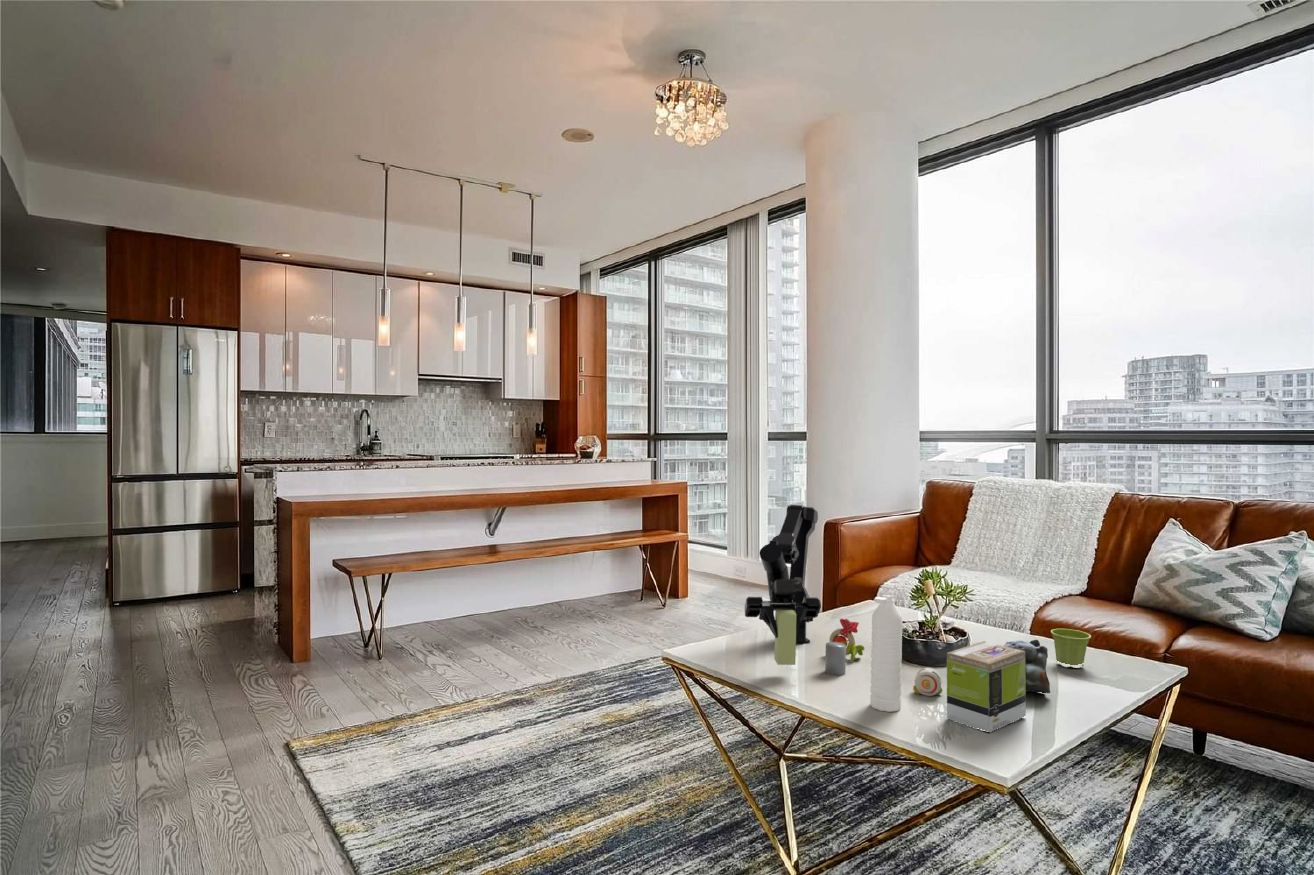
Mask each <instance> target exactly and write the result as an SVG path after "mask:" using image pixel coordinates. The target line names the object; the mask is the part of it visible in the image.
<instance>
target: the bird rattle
mask: <svg viewBox="0 0 1314 875" xmlns="http://www.w3.org/2000/svg"><path fill="white" fill-rule="evenodd" d="M839 623H840V625H841V627H842V628H836V629H835V630H834V631H833V632H831V634H830V636H829V642H838V643H842V644H845V645H846V656H849V655H850V660H851V662H853V661H854V660H855V659H856V656H857V654H858V655H859V656H863V655H864V653H863V651H864V650H865V647H864V645H862V644H858V645H856V641H855V636H854V635H853V633H854V634H855V633H856V634H857V633H858V631H859V630H858V629H857V628H858V627H859V623H860V622H857V621H850V620H849V619H848V618H840V619H839ZM829 642H828V643H829Z"/></svg>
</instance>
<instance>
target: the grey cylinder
mask: <svg viewBox="0 0 1314 875" xmlns="http://www.w3.org/2000/svg"><path fill="white" fill-rule="evenodd" d="M846 648H847V647H846V645H845V644H842V643H838V642H826V643H825V657H824V658H825V659H824V661H825V662H824V663H825V664H824V665H825V668H824V669H825V671H824V672H825V673H826V674H827V675H831V676H838V677H839V676H845V675H846V665H847V664H846V660H847V659H846V657H847V655H846Z"/></svg>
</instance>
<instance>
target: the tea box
mask: <svg viewBox="0 0 1314 875" xmlns="http://www.w3.org/2000/svg"><path fill="white" fill-rule="evenodd" d="M1026 693H1027V691H1026V676H1025V651H1022V650H1018V649H1013V648H1009V647H1005V646H1004V645H1001V644H1000V645H999V644H995V643H991V642H987V641H981V642H977V643H974V644H971V645H968V646H964V647H961V648H958V649H955V650H952V651H949V652H946V719H947V720H948V719H950V720H949V721H951V720H953V721H952V722H954V721H957V722H960V723H963V724H965V725H968V726H971V727H974V728H979V729H982V730H985V731H988V732H990V733H992V732H991V731H993V730H995V729H997V728H999V729H1001V727H1002V728H1004V727H1006V726H1008V725H1007V724H1009V723H1011V722H1013V721H1015V722H1017V721H1016V720H1018V719H1020V718H1022V717H1024V716H1026V714H1027V711H1026V710H1027V709H1026V708H1027V706H1026V705H1027V701H1026V700H1027V698H1026V696H1027V695H1026ZM1026 717H1027V716H1026ZM1022 719H1023V718H1022ZM1020 720H1021V719H1020ZM1018 721H1019V720H1018ZM957 722H956V723H957ZM960 723H959V724H960ZM1013 723H1014V722H1013ZM1011 724H1012V723H1011ZM965 725H964V726H965ZM1005 725H1006V726H1005ZM1009 725H1010V724H1009ZM968 726H967V727H968ZM1003 726H1004V727H1003ZM971 727H970V728H971ZM974 728H973V729H974ZM997 730H998V729H997ZM995 731H996V730H995ZM993 732H994V731H993Z"/></svg>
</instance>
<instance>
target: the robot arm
mask: <svg viewBox="0 0 1314 875" xmlns="http://www.w3.org/2000/svg"><path fill="white" fill-rule="evenodd" d="M818 515H819V513H818V511H817V509H815V508H814V507H812V506H811V507H809V506H805V505H801V504H800V505H799V504H790V505H787V507H786V515H785V519H784V521H783V524H782V526H781V530H780V532H779V534H778V535H776V536H774V537H773V538H772V539H771V540H769V543H767V544H765V545H763V546H762V548H760V549H759V557H760V560H761V563H762V566H763V568H764V571H766V580H767V588H768V596H769V600H764V599H763V597H762V596H748V597H746V599H745V603H744V616H745V617H746V618H757V617H758V619H759V620H761V621H763V622H764V623H765V624H766V626H767V627H768V628H769V630H770V631H771V632H772V634H773V635H774V636H773V637H774V638H775V637H776V638H777V637H778V632H777V626H776V622H775V614H774V613H775V610H793V611H794V612H795V613H796V644H800V643H801V644H803V643H804V644H805V643H806V644H807V643H811V640H810V639H808V637H807V623H810V622H814V619H815V618H818V616H819V614H820V611H821V607H822V604H821V600H820V598H818V597H817V596H815V597H813V596H811V597H810V595H809V593H808V591H807V588H806V586H805V584H806V572H807V560H808V549H809V539H810V537H811V535H812V533H814V531H815V529H816V524H817V523H818V518H819V516H818ZM788 565H790V570H789V568H788ZM789 572H790V573H789Z"/></svg>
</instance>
